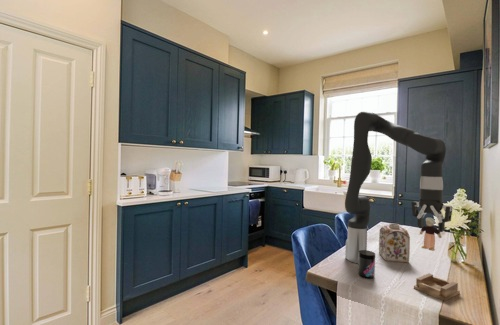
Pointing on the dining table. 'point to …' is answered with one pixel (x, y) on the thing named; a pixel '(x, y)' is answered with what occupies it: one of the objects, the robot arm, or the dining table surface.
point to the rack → (436, 287)
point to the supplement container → (366, 264)
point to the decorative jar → (394, 243)
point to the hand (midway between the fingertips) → (430, 229)
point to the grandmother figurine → (429, 234)
